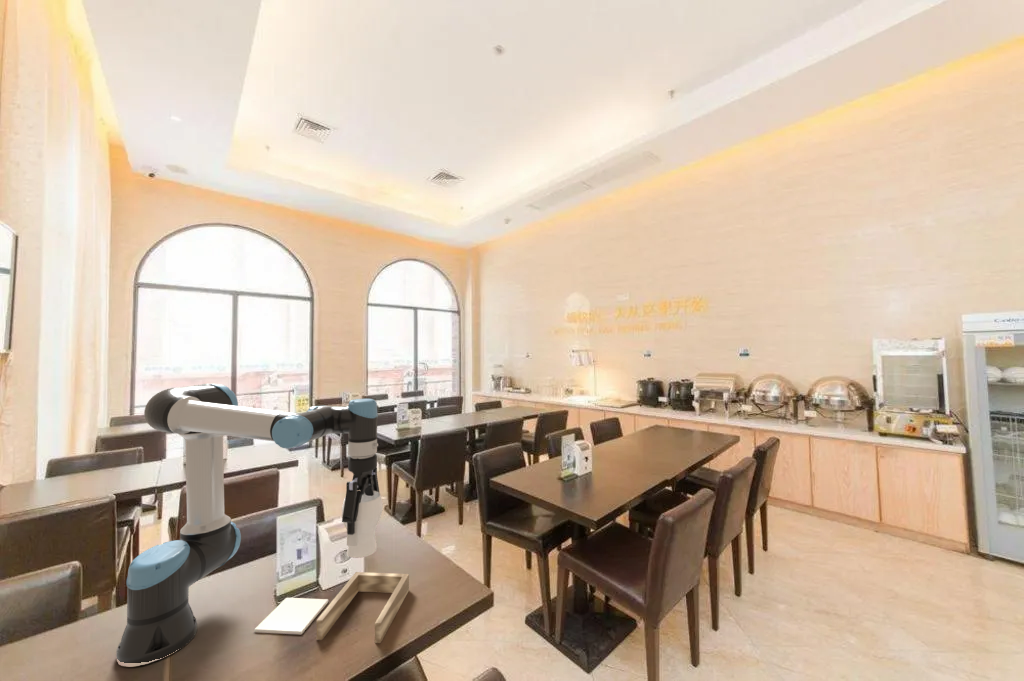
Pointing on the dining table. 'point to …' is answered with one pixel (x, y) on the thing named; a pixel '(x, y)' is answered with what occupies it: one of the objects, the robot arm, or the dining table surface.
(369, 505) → the cup
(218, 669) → the dining table surface
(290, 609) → the tile
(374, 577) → the frame
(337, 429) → the robot arm
